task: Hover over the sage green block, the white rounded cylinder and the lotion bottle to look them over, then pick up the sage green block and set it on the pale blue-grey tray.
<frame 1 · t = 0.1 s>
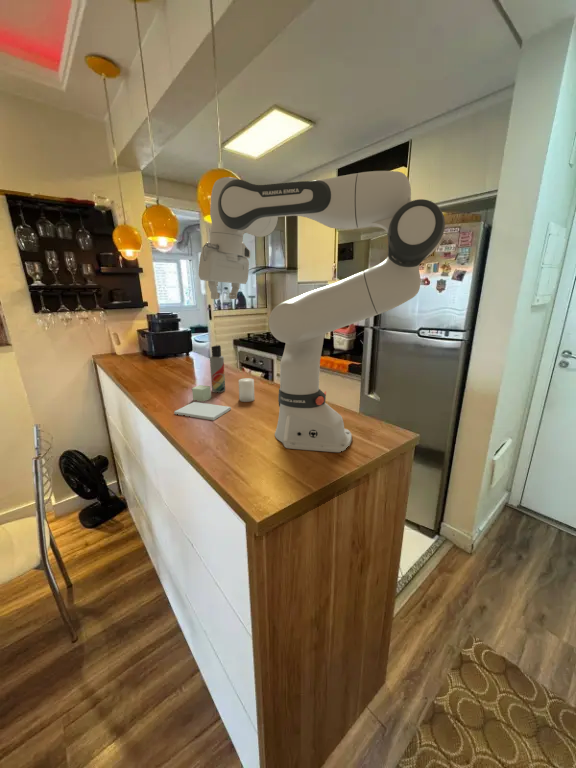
hand: (224, 299, 89), 39 cm above the countertop, tool pointing down, fingers open, 8 cm apart
sage block: (202, 399, 124), on the countertop
lotion bottle: (218, 391, 135), on the countertop
tray: (203, 411, 110), on the countertop
white rounded cylinder: (246, 399, 123), on the countertop
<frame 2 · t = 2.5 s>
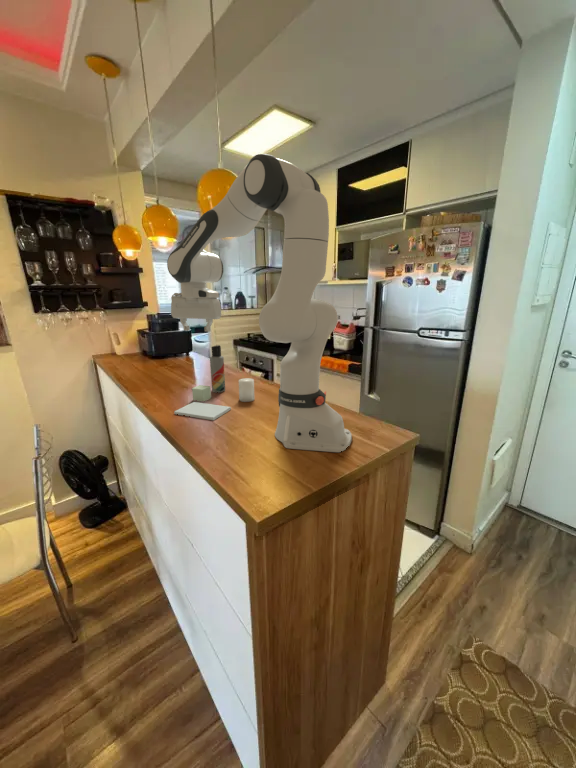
hand: (197, 330, 116), 27 cm above the countertop, tool pointing down, fingers open, 8 cm apart
nothing on the countertop moved.
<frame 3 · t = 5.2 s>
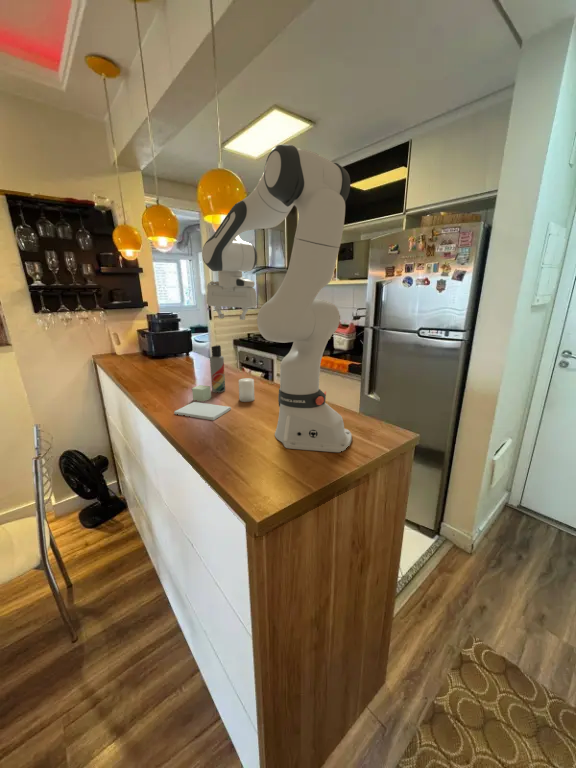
hand: (231, 319, 120), 31 cm above the countertop, tool pointing down, fingers open, 8 cm apart
nothing on the countertop moved.
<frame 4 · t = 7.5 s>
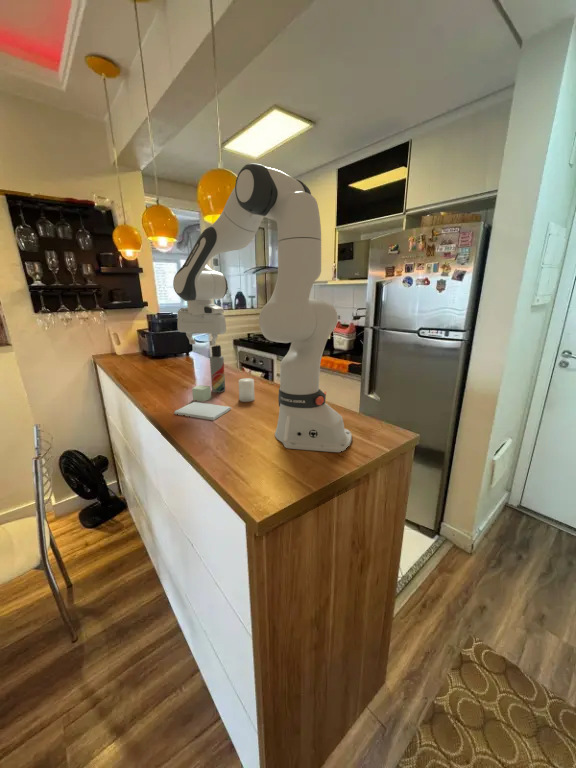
hand: (202, 344, 120), 21 cm above the countertop, tool pointing down, fingers open, 8 cm apart
nothing on the countertop moved.
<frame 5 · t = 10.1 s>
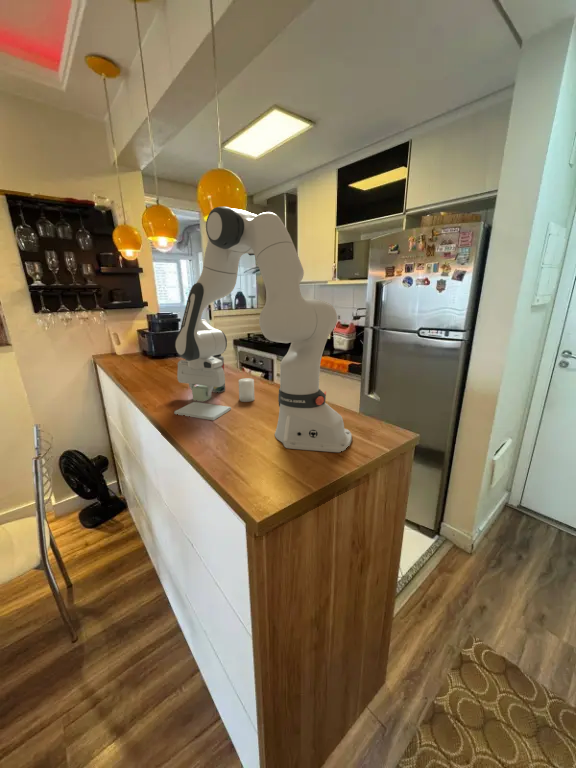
hand: (201, 395, 123), 2 cm above the countertop, tool pointing down, fingers closed on sage block, 5 cm apart
sage block: (202, 398, 124), on the countertop, touching gripper
everything else where it was.
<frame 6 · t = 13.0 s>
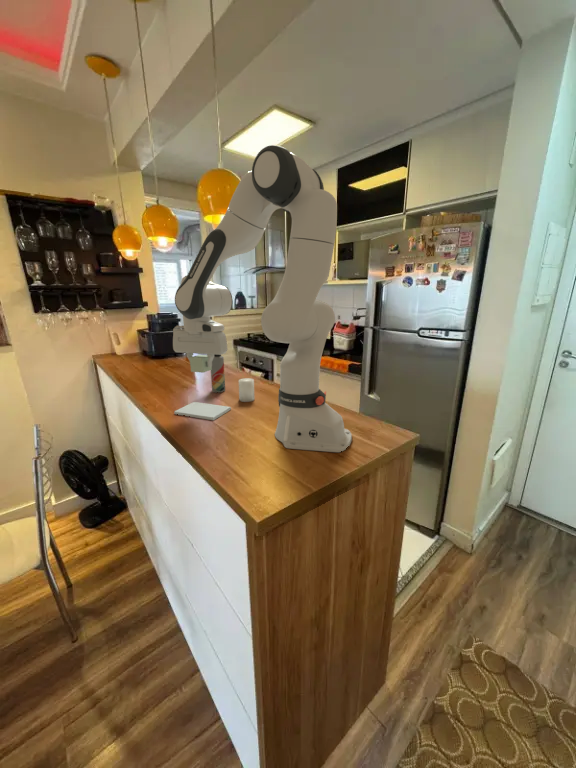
hand: (201, 366, 107), 16 cm above the countertop, tool pointing down, fingers closed on sage block, 5 cm apart
sage block: (201, 370, 108), point 15 cm above the countertop, touching gripper
everything else where it was.
when the fingers open (4 cm above the countertop, at t = 16.1 s): sage block drops 1 cm, resting on tray.
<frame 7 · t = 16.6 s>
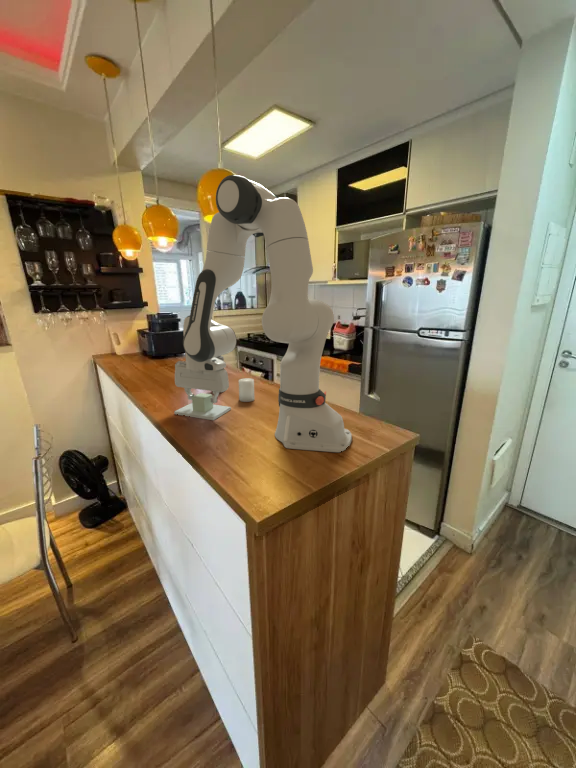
hand: (202, 400, 109), 4 cm above the countertop, tool pointing down, fingers open, 8 cm apart
sage block: (203, 409, 110), point 1 cm above the countertop, touching tray
everything else where it was.
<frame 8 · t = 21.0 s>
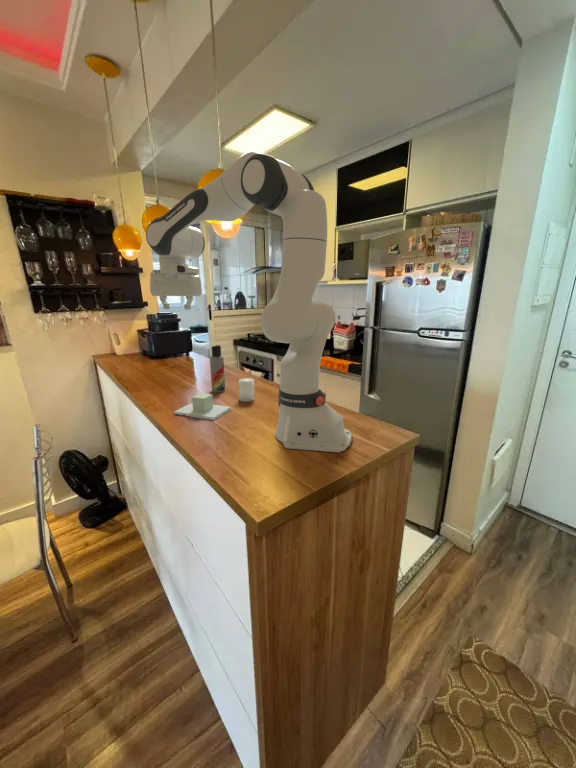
hand: (177, 309, 112), 35 cm above the countertop, tool pointing down, fingers open, 8 cm apart
nothing on the countertop moved.
at the end: sage block inside the target area on the tray (0.1 cm from its centre), point 1.0 cm above the tray's base; the gripper is holding nothing; lotion bottle tilted 0° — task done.
